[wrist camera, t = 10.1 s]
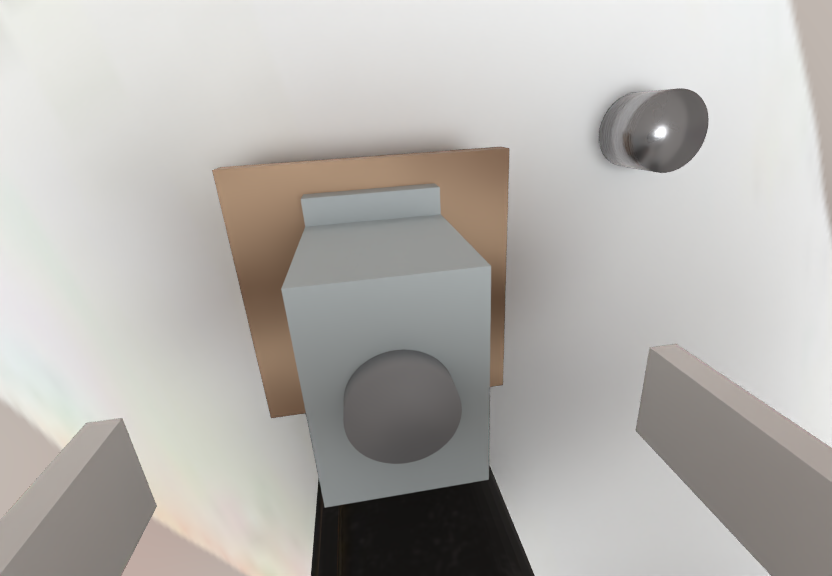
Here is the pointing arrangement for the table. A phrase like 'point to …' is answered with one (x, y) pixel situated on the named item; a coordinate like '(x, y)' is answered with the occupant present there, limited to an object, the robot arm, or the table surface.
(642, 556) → the table surface
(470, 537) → the black carrying case
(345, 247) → the housing
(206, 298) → the table surface
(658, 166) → the dark grey metallic dome
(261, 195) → the stand
